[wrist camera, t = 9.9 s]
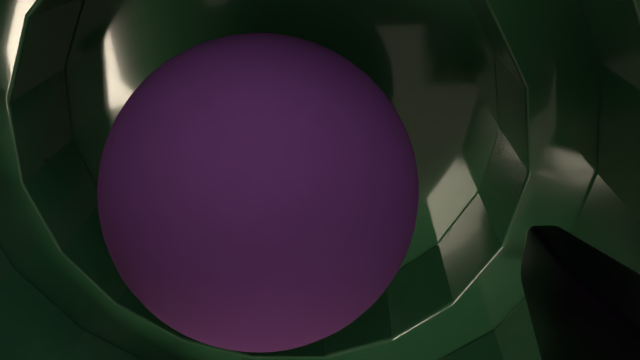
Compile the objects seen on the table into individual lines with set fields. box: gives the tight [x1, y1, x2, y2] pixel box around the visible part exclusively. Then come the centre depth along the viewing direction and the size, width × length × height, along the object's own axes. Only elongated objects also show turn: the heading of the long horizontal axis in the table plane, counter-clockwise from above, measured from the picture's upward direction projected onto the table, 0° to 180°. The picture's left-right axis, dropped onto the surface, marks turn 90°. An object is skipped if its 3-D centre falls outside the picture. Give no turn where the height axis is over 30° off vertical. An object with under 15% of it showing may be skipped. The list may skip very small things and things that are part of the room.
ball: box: [97, 33, 419, 353], centre depth 10 cm, size 6×6×6 cm
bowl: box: [0, 0, 640, 360], centre depth 11 cm, size 14×14×6 cm
